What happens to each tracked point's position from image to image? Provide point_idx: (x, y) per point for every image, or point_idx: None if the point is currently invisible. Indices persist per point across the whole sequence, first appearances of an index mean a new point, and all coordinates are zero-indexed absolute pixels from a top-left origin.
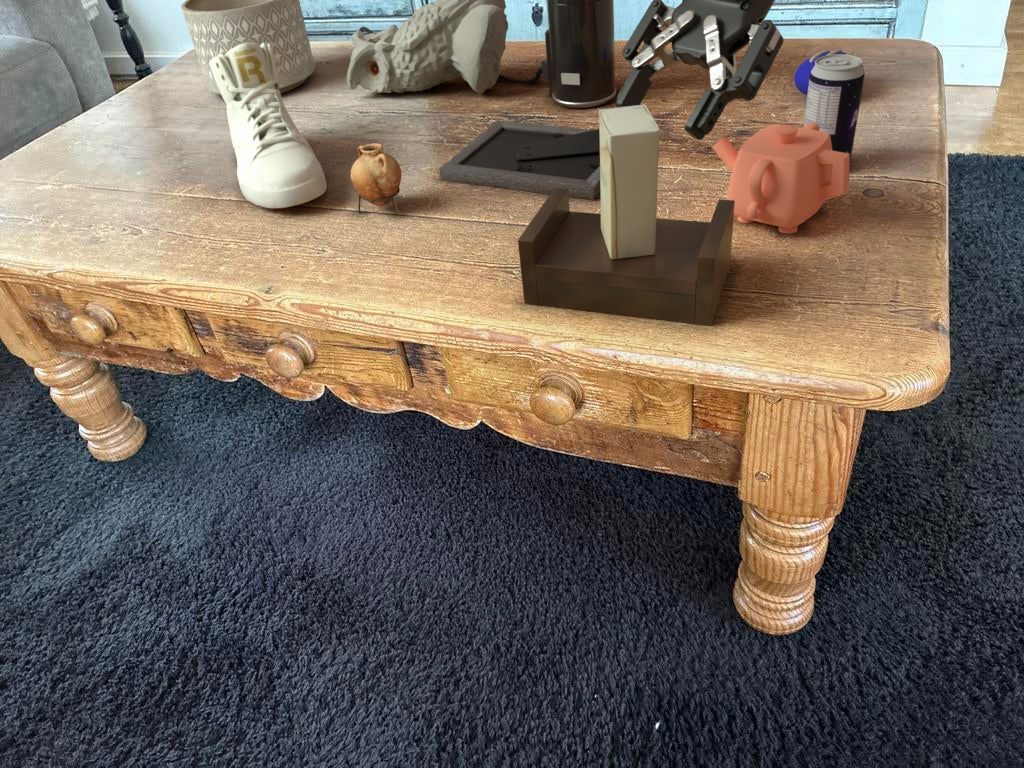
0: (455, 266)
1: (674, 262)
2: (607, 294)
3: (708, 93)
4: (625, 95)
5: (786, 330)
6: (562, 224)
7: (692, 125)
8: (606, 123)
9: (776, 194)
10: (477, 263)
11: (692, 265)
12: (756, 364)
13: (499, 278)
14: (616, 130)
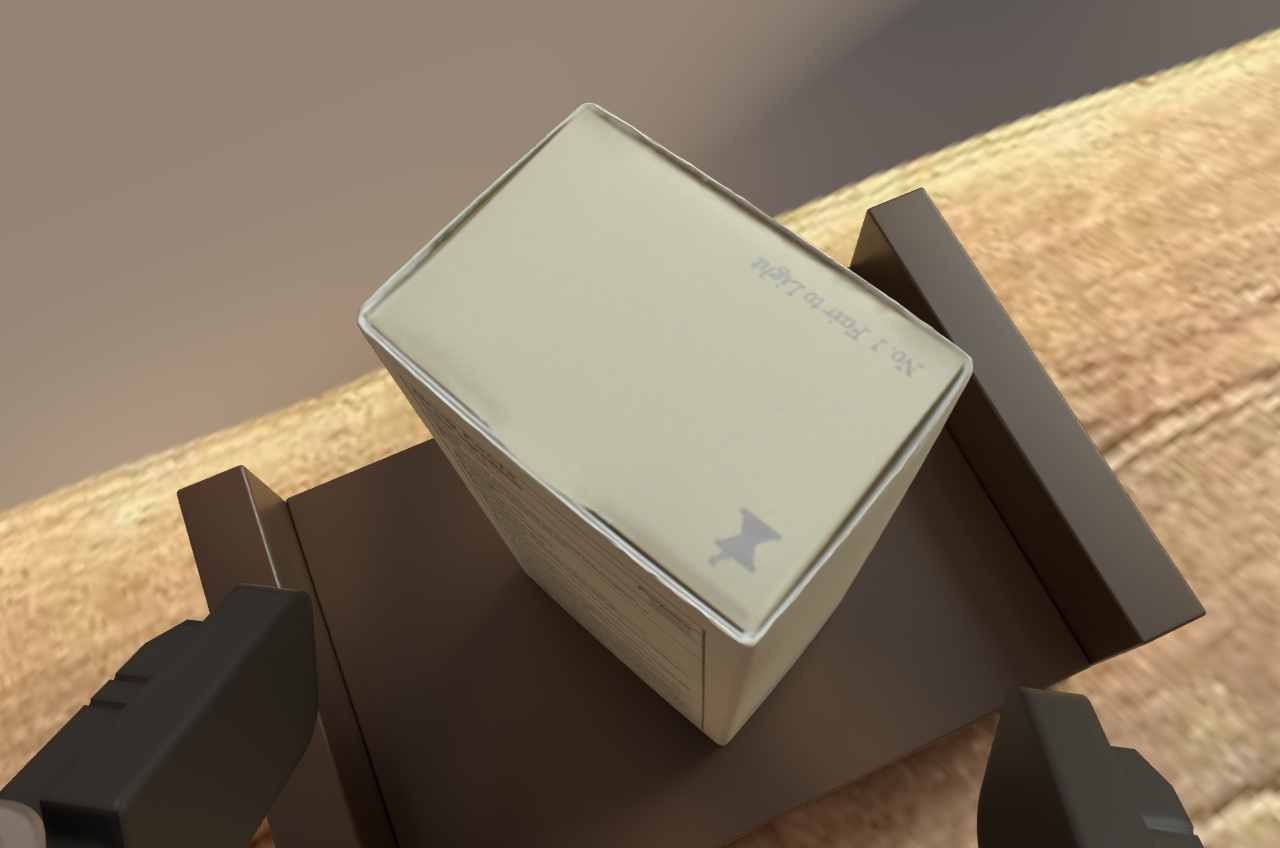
0: (1255, 350)
1: (424, 563)
2: None
3: (81, 774)
4: (1046, 737)
5: (65, 695)
6: (1015, 547)
7: (232, 589)
8: (753, 228)
9: None
10: (1216, 408)
11: (352, 585)
12: (90, 488)
13: (1064, 384)
14: (607, 172)
